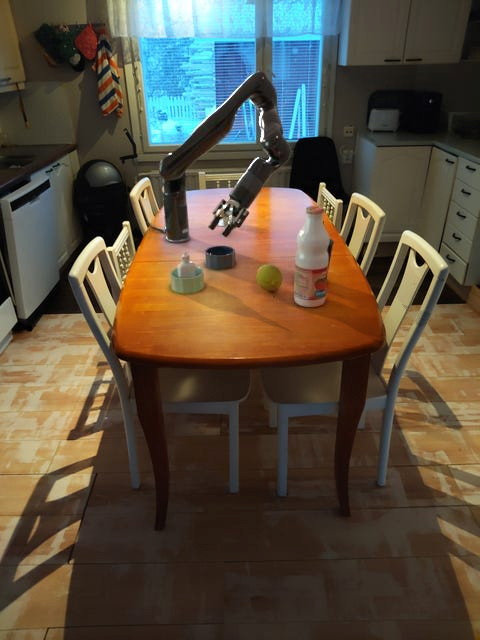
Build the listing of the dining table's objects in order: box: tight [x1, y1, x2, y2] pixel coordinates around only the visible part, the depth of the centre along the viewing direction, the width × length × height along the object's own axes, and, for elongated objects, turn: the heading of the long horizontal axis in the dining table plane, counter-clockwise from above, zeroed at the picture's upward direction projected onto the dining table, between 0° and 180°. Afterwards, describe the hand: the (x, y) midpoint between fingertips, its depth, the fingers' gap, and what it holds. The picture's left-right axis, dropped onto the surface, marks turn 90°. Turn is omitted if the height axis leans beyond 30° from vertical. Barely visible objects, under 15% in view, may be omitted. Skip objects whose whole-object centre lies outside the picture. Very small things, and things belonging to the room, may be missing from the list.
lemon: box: [256, 263, 283, 292], centre depth 144 cm, size 11×8×8 cm
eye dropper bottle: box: [177, 250, 196, 279], centre depth 145 cm, size 4×6×12 cm
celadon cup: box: [169, 266, 205, 295], centre depth 147 cm, size 10×10×5 cm
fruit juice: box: [293, 205, 331, 308], centre depth 131 cm, size 9×9×28 cm
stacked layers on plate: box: [217, 211, 229, 227], centre depth 206 cm, size 10×9×6 cm
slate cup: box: [204, 245, 236, 271], centre depth 163 cm, size 10×10×5 cm
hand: (216, 232), depth 146 cm, fingers open, 8 cm apart
